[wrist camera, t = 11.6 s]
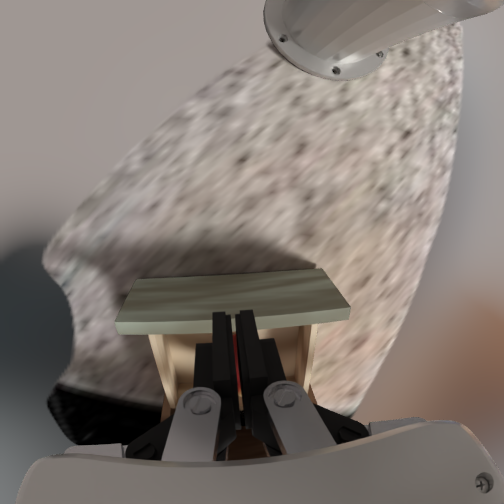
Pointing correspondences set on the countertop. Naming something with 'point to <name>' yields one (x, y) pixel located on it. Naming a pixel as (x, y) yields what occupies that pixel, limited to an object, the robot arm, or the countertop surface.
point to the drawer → (231, 301)
